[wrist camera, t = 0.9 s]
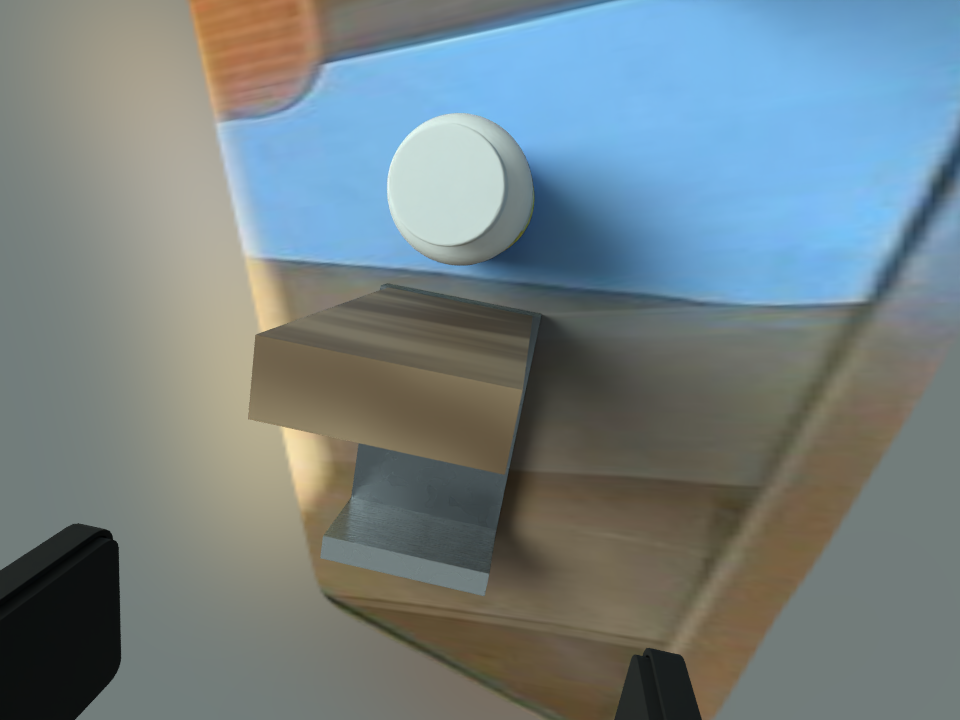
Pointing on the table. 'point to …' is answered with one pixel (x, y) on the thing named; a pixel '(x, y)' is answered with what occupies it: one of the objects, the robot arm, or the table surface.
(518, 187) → the supplement bottle
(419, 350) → the brown wooden block
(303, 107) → the table surface
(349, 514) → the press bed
